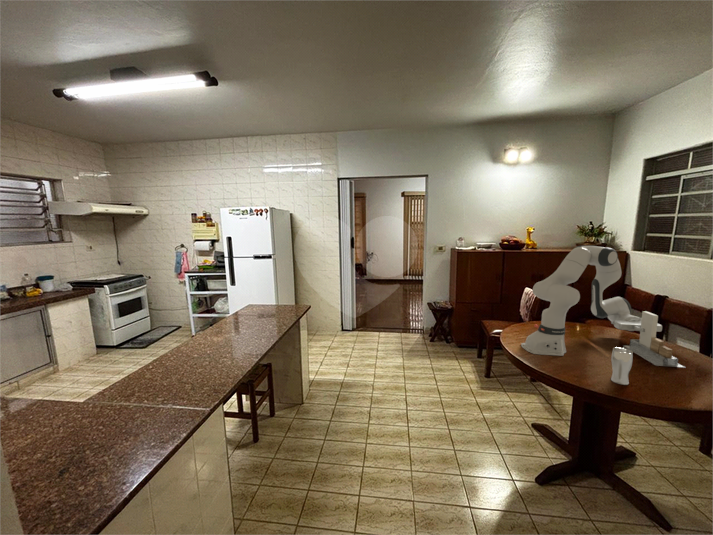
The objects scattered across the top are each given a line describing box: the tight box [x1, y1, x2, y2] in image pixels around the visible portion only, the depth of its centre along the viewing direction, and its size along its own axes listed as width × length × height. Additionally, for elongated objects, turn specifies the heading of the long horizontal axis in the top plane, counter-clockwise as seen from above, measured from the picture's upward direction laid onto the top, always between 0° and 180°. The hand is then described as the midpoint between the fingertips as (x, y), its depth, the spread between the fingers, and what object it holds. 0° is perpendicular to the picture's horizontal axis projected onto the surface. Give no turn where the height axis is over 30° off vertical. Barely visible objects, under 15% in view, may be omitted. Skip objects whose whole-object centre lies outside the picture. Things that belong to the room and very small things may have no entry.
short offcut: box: [659, 345, 673, 358], centre depth 143 cm, size 2×5×8 cm, turn 166°
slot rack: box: [622, 338, 686, 369], centre depth 151 cm, size 12×25×6 cm, turn 166°
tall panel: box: [638, 310, 659, 349], centre depth 154 cm, size 2×8×22 cm, turn 166°
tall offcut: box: [651, 337, 665, 353], centre depth 148 cm, size 2×5×10 cm, turn 166°
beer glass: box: [610, 346, 634, 386], centre depth 129 cm, size 7×7×15 cm
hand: (647, 330), depth 154 cm, fingers closed on tall panel, 2 cm apart
